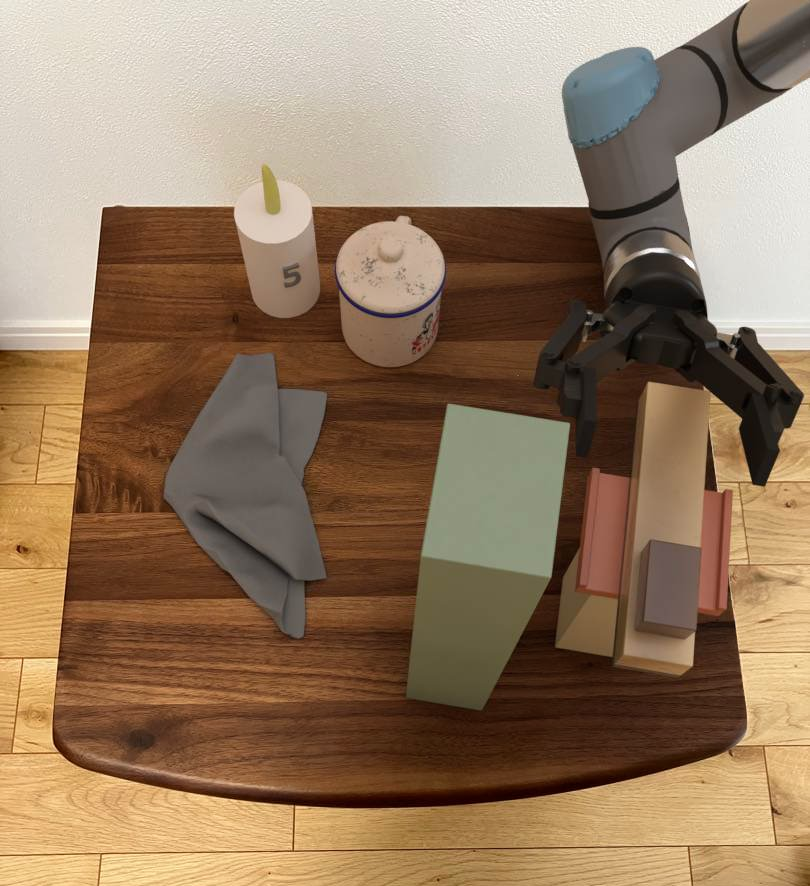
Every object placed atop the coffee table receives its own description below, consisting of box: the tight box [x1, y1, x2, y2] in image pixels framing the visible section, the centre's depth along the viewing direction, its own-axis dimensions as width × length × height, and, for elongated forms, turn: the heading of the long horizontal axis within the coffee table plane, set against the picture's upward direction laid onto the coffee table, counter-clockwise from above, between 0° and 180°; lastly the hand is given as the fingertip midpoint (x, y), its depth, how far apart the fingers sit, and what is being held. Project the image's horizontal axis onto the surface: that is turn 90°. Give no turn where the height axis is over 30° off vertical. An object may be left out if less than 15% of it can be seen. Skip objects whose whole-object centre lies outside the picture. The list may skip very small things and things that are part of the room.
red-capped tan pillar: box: [554, 467, 734, 658], centre depth 68 cm, size 9×8×19 cm
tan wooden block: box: [611, 381, 712, 679], centre depth 58 cm, size 4×18×5 cm, turn 170°
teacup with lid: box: [334, 215, 447, 368], centre depth 81 cm, size 12×9×12 cm
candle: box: [233, 163, 321, 319], centre depth 80 cm, size 6×6×15 cm
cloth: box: [163, 352, 328, 640], centre depth 79 cm, size 26×14×2 cm, turn 0°
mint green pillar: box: [405, 403, 571, 712], centre depth 60 cm, size 6×8×33 cm
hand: (675, 453), depth 58 cm, fingers open, 10 cm apart
